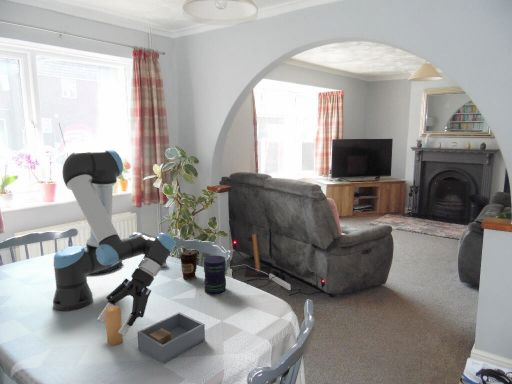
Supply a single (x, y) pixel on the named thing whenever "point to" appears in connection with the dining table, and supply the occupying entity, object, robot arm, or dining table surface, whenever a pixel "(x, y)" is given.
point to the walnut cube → (161, 336)
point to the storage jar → (214, 275)
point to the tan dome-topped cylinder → (113, 325)
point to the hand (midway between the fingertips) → (110, 327)
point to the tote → (183, 337)
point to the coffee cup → (189, 264)
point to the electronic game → (108, 268)
